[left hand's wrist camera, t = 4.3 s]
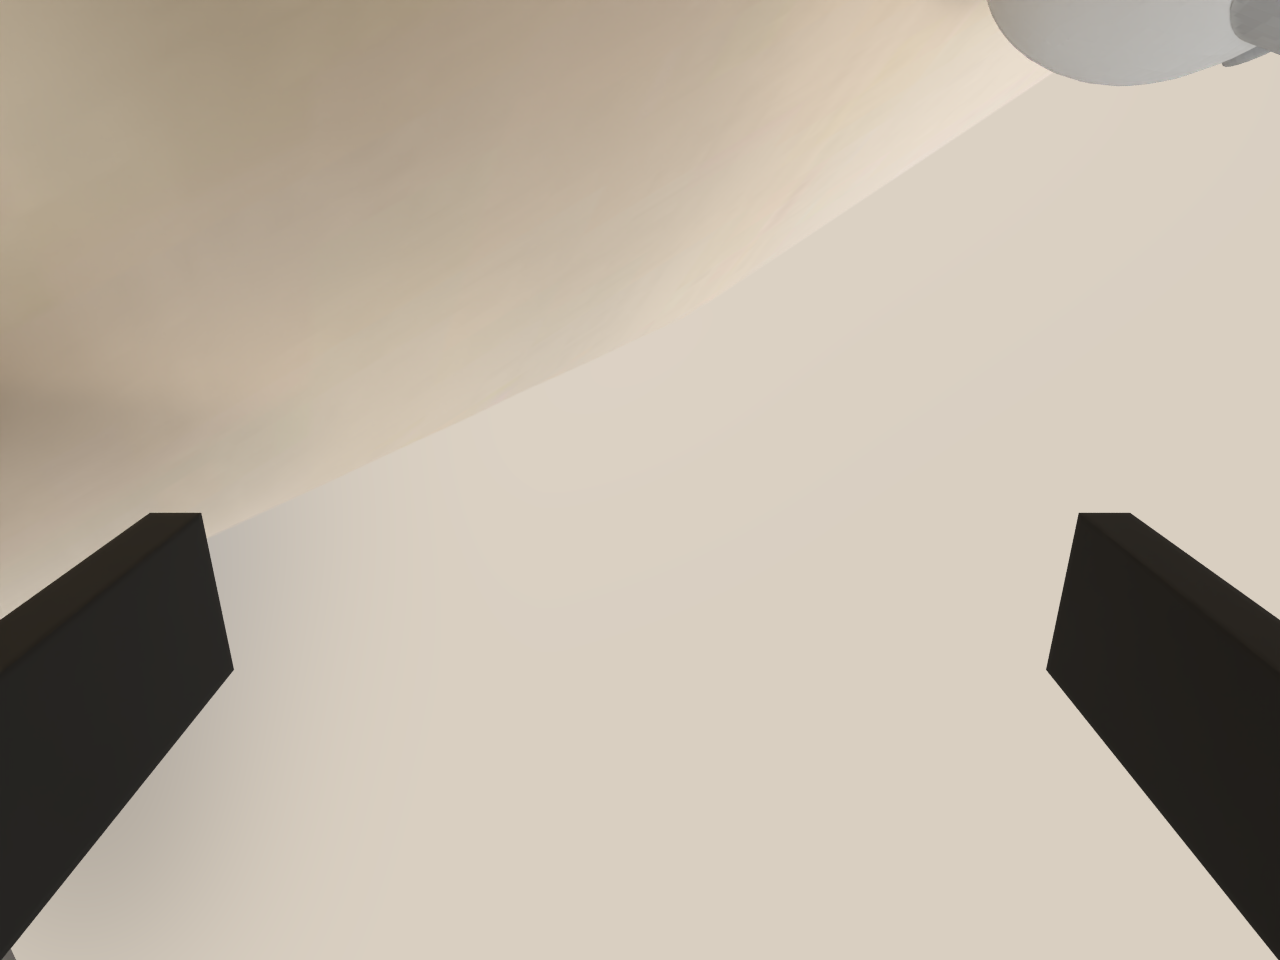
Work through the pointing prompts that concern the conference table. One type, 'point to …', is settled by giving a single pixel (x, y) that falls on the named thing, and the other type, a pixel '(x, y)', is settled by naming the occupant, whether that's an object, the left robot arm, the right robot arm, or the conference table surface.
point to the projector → (1138, 36)
